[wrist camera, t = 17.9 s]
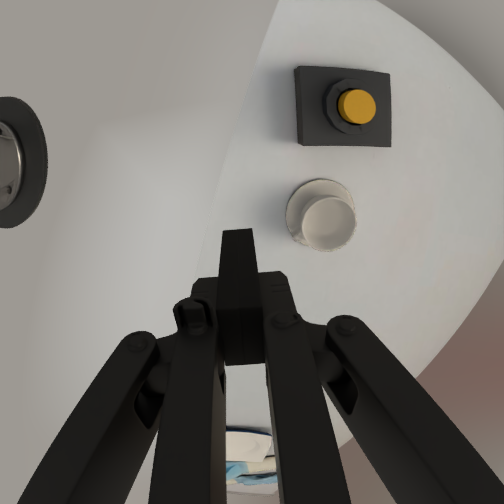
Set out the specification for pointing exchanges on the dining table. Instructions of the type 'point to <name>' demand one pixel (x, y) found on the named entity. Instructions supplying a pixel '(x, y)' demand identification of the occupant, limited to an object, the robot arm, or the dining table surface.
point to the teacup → (321, 215)
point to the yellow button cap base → (326, 107)
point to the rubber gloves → (246, 467)
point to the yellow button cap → (356, 106)
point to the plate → (247, 445)
